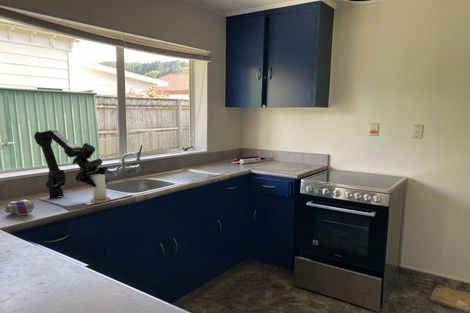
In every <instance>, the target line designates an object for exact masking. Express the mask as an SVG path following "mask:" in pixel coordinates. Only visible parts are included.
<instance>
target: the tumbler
mask: <svg viewBox="0 0 470 313" xmlns="http://www.w3.org/2000/svg"><path fill="white" fill-rule="evenodd" d="M105 178H106V175H104V174H100V175H92V177H91V179H92V180H93V181H94V183H95V184H96V187H93V186H92V191H93V192H92V193H93V194H92V195H93V198H94V200H103V199H106V197H107V188H106V187H107V186H106V185H107V184H105Z"/></svg>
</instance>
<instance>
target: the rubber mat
mask: <svg viewBox="0 0 470 313" xmlns="http://www.w3.org/2000/svg"><path fill="white" fill-rule="evenodd" d="M61 208H63V209H64V210H66V211H67V212H71V211H77V210H78V211H79V210H82V209H89V208H92V206H91V205H89V204H88V203H85V202H82V203H77V204H76V203H75V204H71V205H64V206H62V207H61Z"/></svg>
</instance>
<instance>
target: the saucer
mask: <svg viewBox="0 0 470 313" xmlns="http://www.w3.org/2000/svg"><path fill="white" fill-rule="evenodd" d="M109 201H111V197H109V196H106V199H103V200H94V197H93V198H91V199H90V203H93V204H101V203H106V202H109Z"/></svg>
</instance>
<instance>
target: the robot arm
mask: <svg viewBox="0 0 470 313" xmlns="http://www.w3.org/2000/svg"><path fill="white" fill-rule="evenodd" d="M33 137H34V141H35V142H36V144H37V145H38V146H39V147H40V148H41V150H42V153H43V155H44V158H45V162H46V165H47V167H48V168H47V169H48V175H47V178H48V180H47V181H46V182H45V187H46V188H47V189H48V190H49V197H58V196H62V197H64V194H65V192H64V186H65V185H66V178H67V177H66V173H65V171H64V170H63V169H62V170H61V169H60V167H59V165H58V161H57V159H56V157H55V154H54V151H53V148H52V142H53V141H54V142H55V143H56V144H58V145H59V146H60V147H61V148H62V149H63V151H64V154H65V155H66V156H67V157H68V158H73V159H72V164H73V165H75V164H76V165H77V166H78V167H79V172H77V174H76V175H75V178H74V179H75V181H76V182H77V183H79V182H81V183H84V184H86V185H89V186H91V187H92V188H93V187H96V184H95V183H94V181H93V180H92V177H91V176H93V175H100V174H104V175H105V174H106V173H107V172H108V170H109V169H108V167H107V166H102V164H103V160H102V159H101V158H97V159H93V160H91V161H90V160H88V159H90V158H91V157H92V156H93V154H94V153H95V151H96V148H95V147H94V146H93V145H92V144H89V143H88V142H85V143H83V145H82V146H79V145H77V144H75V143H73V142H71V141H69V140H68V139H67V138H66V137H65V136H63V135H62V134H61V133H60V132H59V130H57V129H49V130H45V131H44V130H43V131H36V132H35V133H34V135H33ZM99 166H100V167H99ZM98 167H99V168H98ZM105 176H106V175H105ZM107 184H108V182H107V179H106V177H105V185H107Z"/></svg>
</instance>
